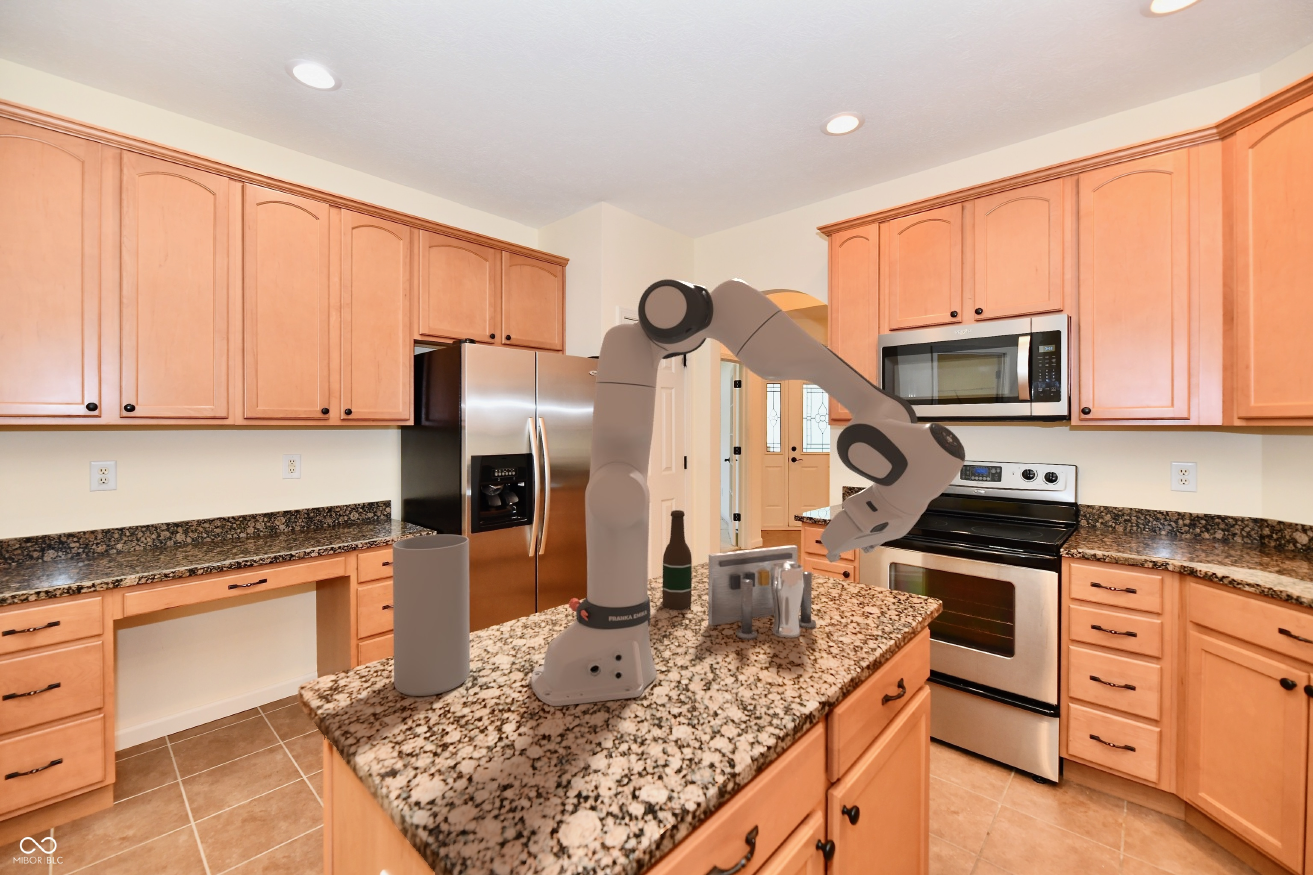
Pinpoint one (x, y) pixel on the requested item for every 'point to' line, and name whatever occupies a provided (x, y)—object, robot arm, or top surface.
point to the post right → (806, 602)
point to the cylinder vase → (431, 613)
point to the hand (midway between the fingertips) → (848, 554)
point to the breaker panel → (729, 576)
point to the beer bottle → (677, 567)
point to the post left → (746, 611)
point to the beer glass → (786, 598)
